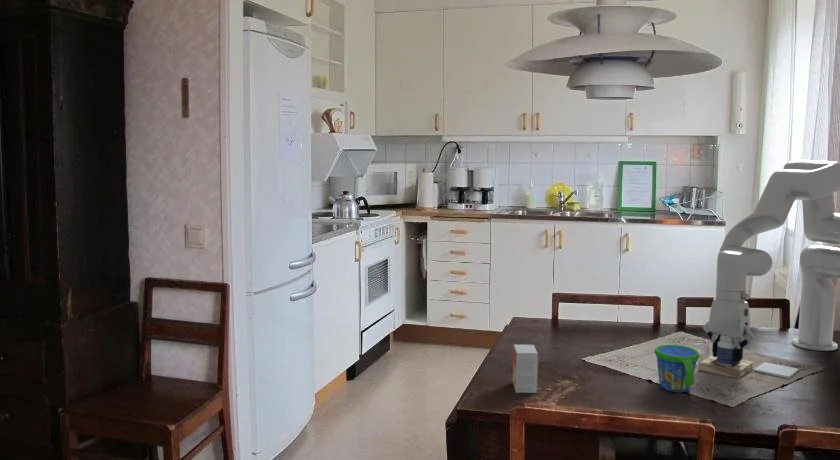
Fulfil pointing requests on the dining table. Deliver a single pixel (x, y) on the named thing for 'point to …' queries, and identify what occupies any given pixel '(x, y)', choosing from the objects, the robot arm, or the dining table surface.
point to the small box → (525, 368)
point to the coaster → (776, 370)
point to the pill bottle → (726, 351)
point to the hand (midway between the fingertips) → (727, 358)
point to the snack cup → (676, 367)
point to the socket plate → (725, 367)
